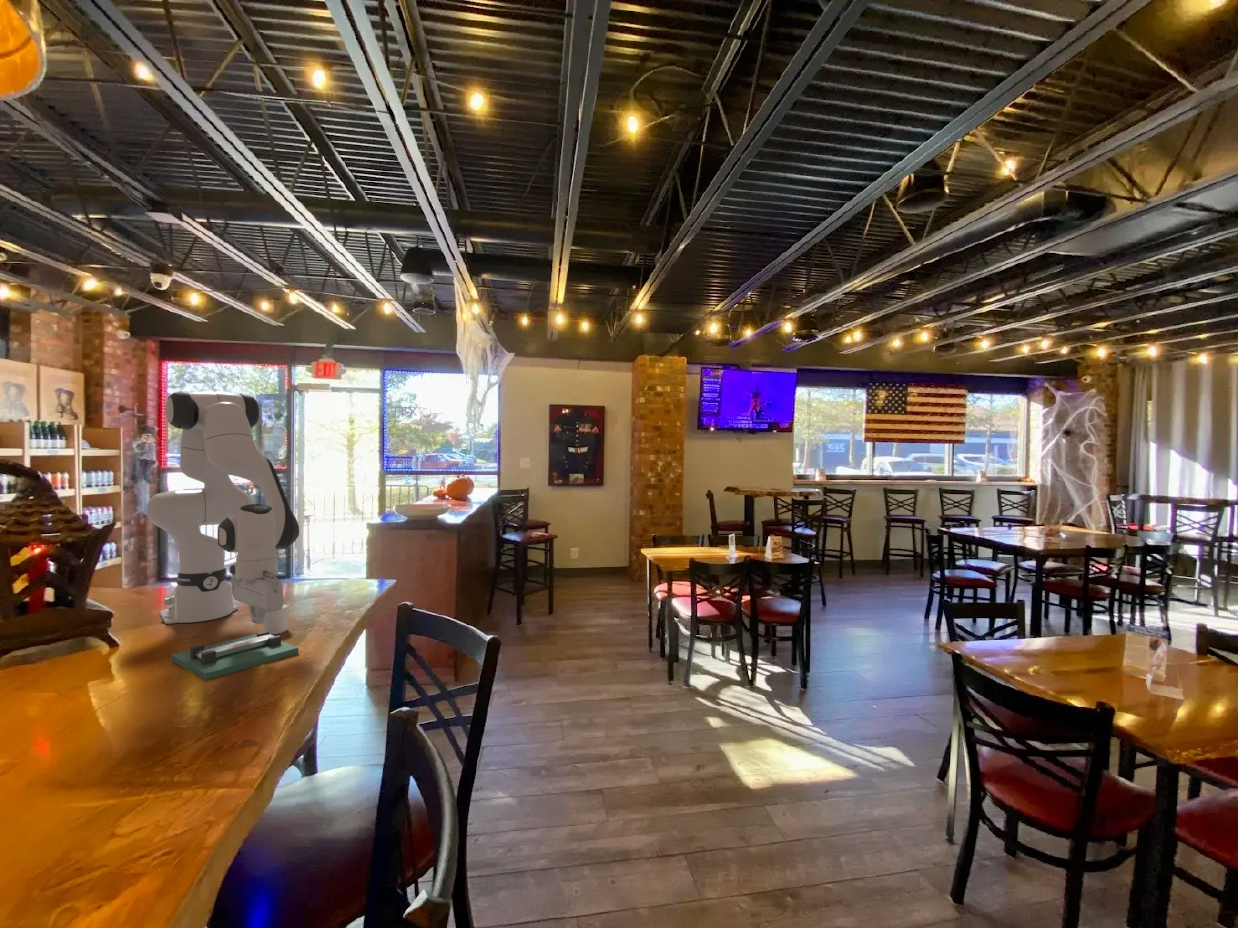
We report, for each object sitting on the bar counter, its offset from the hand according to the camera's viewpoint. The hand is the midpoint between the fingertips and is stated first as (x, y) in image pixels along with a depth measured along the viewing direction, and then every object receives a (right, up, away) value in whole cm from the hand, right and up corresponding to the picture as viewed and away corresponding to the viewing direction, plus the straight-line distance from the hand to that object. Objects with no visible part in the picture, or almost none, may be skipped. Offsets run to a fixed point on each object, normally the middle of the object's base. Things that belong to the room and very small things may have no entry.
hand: (257, 622), depth 144 cm
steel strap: (-2, -6, -4) cm, 7 cm away
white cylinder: (-5, -7, +16) cm, 18 cm away
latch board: (-3, -7, -4) cm, 9 cm away
